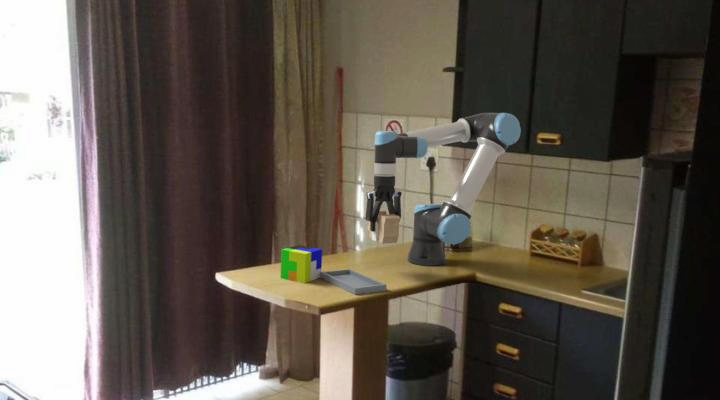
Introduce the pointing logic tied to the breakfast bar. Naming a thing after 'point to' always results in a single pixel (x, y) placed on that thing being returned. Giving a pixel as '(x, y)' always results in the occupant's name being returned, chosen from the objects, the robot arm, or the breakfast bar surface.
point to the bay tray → (353, 281)
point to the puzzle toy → (301, 263)
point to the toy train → (386, 227)
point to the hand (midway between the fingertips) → (382, 239)
